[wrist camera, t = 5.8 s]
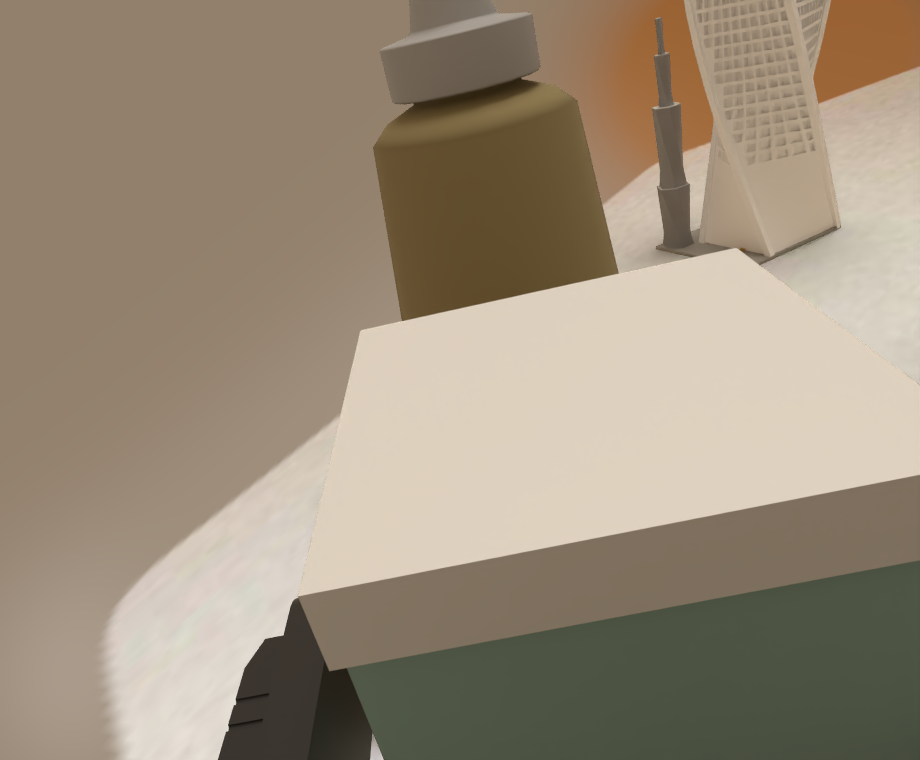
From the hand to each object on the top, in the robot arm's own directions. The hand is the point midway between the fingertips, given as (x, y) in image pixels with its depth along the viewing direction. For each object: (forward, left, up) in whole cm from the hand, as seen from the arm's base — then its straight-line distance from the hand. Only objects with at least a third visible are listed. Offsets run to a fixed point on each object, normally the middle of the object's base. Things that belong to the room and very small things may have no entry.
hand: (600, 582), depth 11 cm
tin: (0, +2, -7) cm, 7 cm away
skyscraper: (-15, -32, -7) cm, 36 cm away
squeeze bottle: (0, -15, -7) cm, 17 cm away
